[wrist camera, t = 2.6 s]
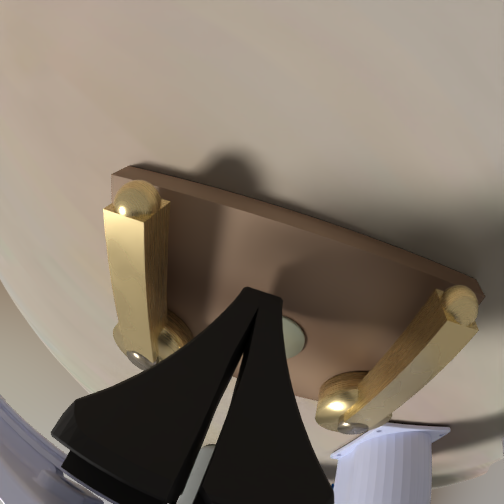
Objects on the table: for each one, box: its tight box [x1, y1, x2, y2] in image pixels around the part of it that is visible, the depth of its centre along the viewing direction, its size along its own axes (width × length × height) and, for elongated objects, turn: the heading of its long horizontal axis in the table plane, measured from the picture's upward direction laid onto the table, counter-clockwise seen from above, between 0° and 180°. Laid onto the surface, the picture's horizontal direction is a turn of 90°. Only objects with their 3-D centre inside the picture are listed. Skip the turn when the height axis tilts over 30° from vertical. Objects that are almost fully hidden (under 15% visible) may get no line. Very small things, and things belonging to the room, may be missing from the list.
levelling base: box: [111, 166, 485, 401], centre depth 12 cm, size 10×16×2 cm, turn 78°
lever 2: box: [315, 285, 479, 434], centre depth 10 cm, size 11×4×2 cm, turn 168°
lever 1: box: [103, 180, 194, 371], centre depth 11 cm, size 11×4×2 cm, turn 168°
